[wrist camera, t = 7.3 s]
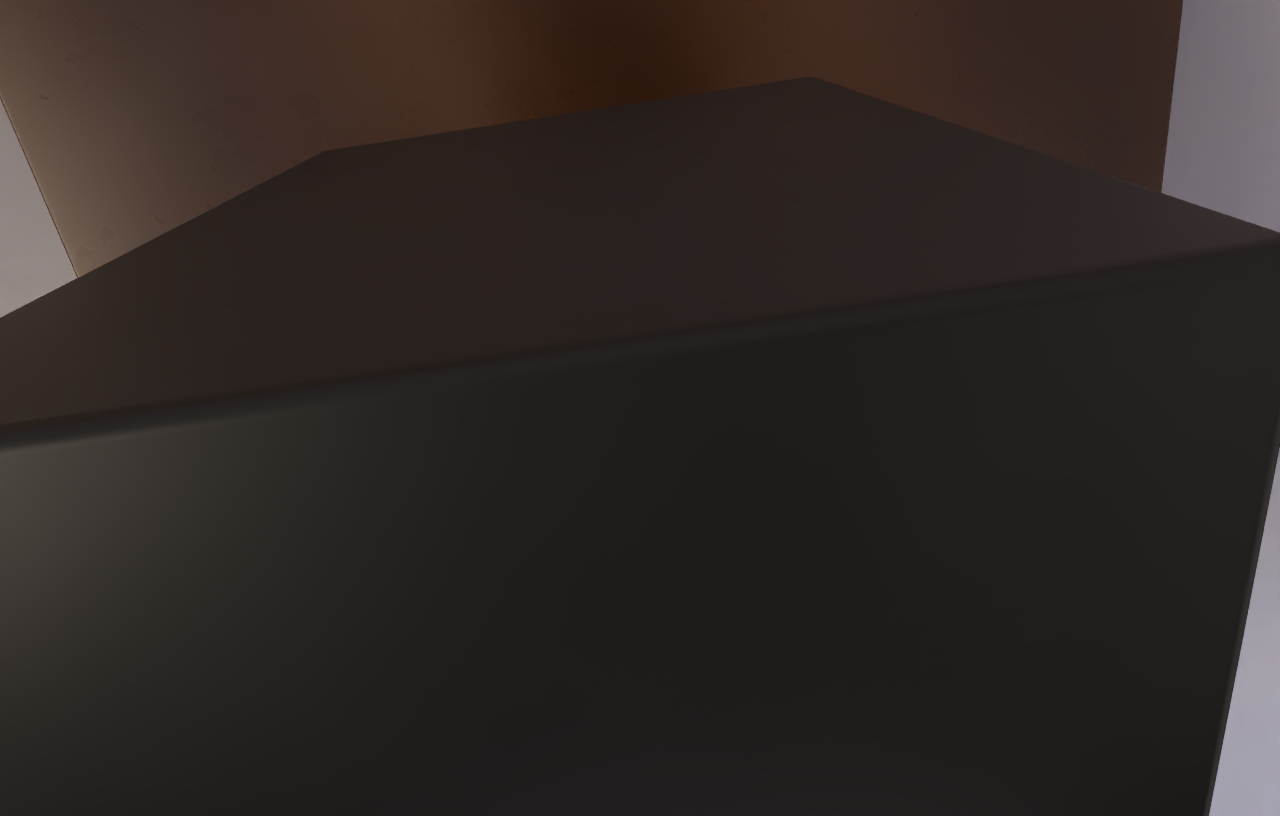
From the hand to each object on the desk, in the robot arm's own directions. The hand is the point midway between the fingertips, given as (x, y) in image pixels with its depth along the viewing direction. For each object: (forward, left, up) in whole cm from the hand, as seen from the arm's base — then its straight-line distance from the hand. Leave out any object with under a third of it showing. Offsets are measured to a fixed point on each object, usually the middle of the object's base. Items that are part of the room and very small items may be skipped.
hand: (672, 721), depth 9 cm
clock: (0, 0, -1) cm, 1 cm away
